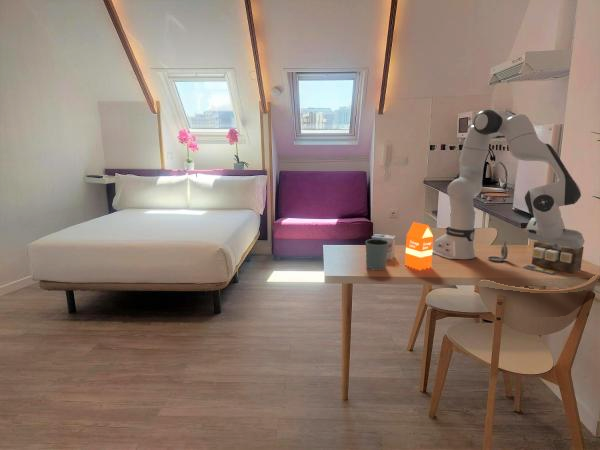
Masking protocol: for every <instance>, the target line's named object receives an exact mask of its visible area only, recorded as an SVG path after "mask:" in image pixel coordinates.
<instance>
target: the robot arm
mask: <svg viewBox="0 0 600 450" xmlns="http://www.w3.org/2000/svg"><path fill="white" fill-rule="evenodd" d="M494 138H505V139H506V144H507V146H508V149H509V150H508V151H510V154H511V156H512V157H513V158H514V159H518V160H520V161H526V162H536V161H537V162H544V163H547V164H548V165H549V166H550V167H551V169H552V171H553V172H554V174H555V176H556V177H557V179H558V180H557V181H555V182H552V183H549V184H545V185H540V186H538V187H533V188H530V189H529V190H528V191H527V192H526V194H525V196H524V202H525V205H526V207H527V210H528V213H529V214H530V215H531V216H533V217H531V219H529V222H528V223H527V225H526V227H525V233H526V237H527V239H529V240H533V241H542V242H548V243H549V244H550V245H552V247H553V248H557V249H561V247H562V245H563V246H569V247H574V248H581V247H584V245H585V239H584V236H583V233H581V232H580V231H579V230H575V229H571V228H570V229H568V228H566V227H565V222H564V220H563V218H562V214H561V210H560V207H563V206H570V205H575V204H576V203H578V201H579V199H580V198H581V197H582V192H581V189H580V186H579V185H578V184H577V182H576V181H575V180H574V178H573V177H572V176H571V174H570V173H569V171H568V169H567V167H566V166H565V165H564V163H563V161H562V160H561V158H560V156H559V155H558V153H557V152H556V151H555V149H554V148H553V146H552V145H551V144H550V143H545V142H543V141H541V139H540V138H539V137H538V134H537V132H536V129H535V127H534V125H533V123H532V122H531V120H530V118H529V116H527V115H526V114H523V113H517V114H516V113H514V112H512V111H508V110H507V111H506V110H501V109H499V110H498V109H495V110H493V109H485V110H481V111H479V112H478V113H477V114H476V115H475V116H474V118H473V124H472V125H470V127H469V128H468V131H467V133H466V136H465V137H464V142H463V145H462V148H461V151H460V152H461V153H460V155H459V156H460V157H459V160H458V165H459V176H458V177H457V178H456V179H455V178H454V179H453V180H452V181H451V182H450V183H449V184H448V185H447V189H446V193H447V197H448V198H449V205H450V219H449V220H450V221H449V226H448V227H445V228H444V231H446V232H445V233H444V234H442V235H441V236H439V237H438V238H436V239H435V240H434V241H433V248H432V249H433V250H432V255H433V254H434V255H436V256H439V257H442V258H445V259H448V260H472V259H475V258H476V254H475V248H474V240H475V235H476V234H475V231H476V229H475V221H476V211H475V208H474V199H475V198H476V197H478V195H480V193H481V192H482V189H483V178H484V176H483V175H484V167H485V164H486V163H485V162H486V158H487V154H488V151H489V148H490V147H489V146H490V143H491V141H492V139H494Z"/></svg>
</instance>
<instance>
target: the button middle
mask: <svg viewBox="0 0 600 450" xmlns="http://www.w3.org/2000/svg"><path fill="white" fill-rule="evenodd" d="M559 257H560V250H556V249H549V250H546V252H545V260H550V261H556V260H559Z"/></svg>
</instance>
